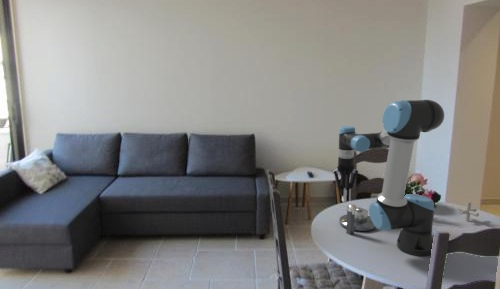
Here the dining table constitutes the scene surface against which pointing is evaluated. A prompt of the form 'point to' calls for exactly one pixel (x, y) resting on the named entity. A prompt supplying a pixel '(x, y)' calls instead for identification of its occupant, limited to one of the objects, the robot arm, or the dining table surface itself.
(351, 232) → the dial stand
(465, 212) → the pipe connector
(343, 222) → the turntable
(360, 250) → the dining table surface
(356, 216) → the cover
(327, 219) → the dining table surface
